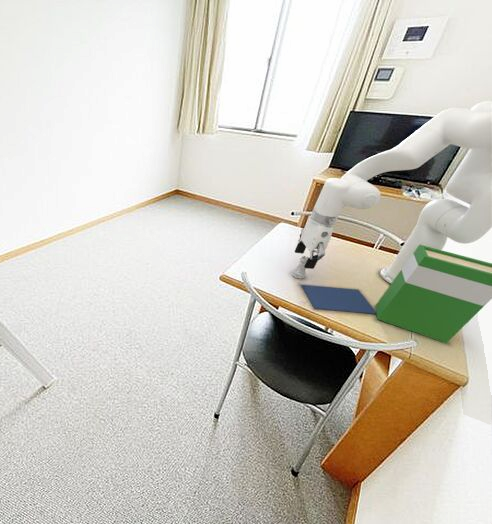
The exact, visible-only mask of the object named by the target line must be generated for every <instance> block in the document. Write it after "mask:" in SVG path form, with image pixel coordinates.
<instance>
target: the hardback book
mask: <svg viewBox="0 0 492 524" xmlns="http://www.w3.org/2000/svg"><path fill="white" fill-rule="evenodd" d="M490 301H492V262H488V261H484V260H481V259H478V258H477V259H476V258H473V257H469V256H465V255H461V254H458V253H455V252H450V251H446V250H443V249H442V250H439V249H435V248H431V247H427V246H423V245H419V246H418V247H417V249H416V250H415V252H414V253H413V254H412V256H411V257H410V258H409V260H408V261H407V263H406V264H405V265H404V267H403V268H402V269H401V271H400V272H399V274H398V275H397V276H396V278H395V279H394V280H393V282H392V283H391V284H389V286H388V287H387V288H386V289H385V291H384V293H383V294H382V295H381V296H380V298H379V300H378V301H377V303H376V304H375V305H374V307H375V311H376V313H377V314H376V318H377V320H379V321H380V322H381V321H382V322H385V323H387V324H391V325H393V326H395V327H399V328H402V329H404V330H406V331H410V332H413V333H416V334H419V335H421V336H425V337H427V338H431V339H433V340H436V341H438V342H441V343H445V344H448V343H449V342H450V340H452V338H454V336H456V335H457V333H459V332H460V331H461V329H463V327H465V326H466V325H467V324H468V323H469V322H470V321H471V320H472V319H473V318H474V317H475V316H476V315H477V314H478V313H479V312H480V311H481V310H482V309H483V308H484V307H485V306H486V305H487V304H488V303H489V302H490Z"/></svg>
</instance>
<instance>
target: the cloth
mask: <svg viewBox="0 0 492 524" xmlns="http://www.w3.org/2000/svg"><path fill="white" fill-rule="evenodd" d="M300 286H301V288H302V289H303V291H304V293H305V295H306V297H307V298H308V300H309V302H310V304H311V305H312V307H313V309H314V310H323V311H335V312H347V313H357V314H358V313H359V314H367V315H369V314H370V315H377V313H376V309H375V308H374V307H373V306H372V305H371V304H370V302H369V301H368V300H367V298H366V297H365V296H364V295H363V293H362V292H361V291H360V290H359V289H357V288H356V289H355V288H345V287H344V288H343V287H334V286H333V287H331V286H322V285H321V286H320V285H311V284H310V285H309V284H301V285H300Z"/></svg>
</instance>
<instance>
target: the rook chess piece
mask: <svg viewBox="0 0 492 524" xmlns="http://www.w3.org/2000/svg"><path fill="white" fill-rule="evenodd" d="M308 258H309V256H306V255H302V256H301V257H300V258H299V260H300V261H299V263H298V265H297V267H295V268H294V269H293V271H292V272H291V274H292V276H293V277H294V278H296V279H299V280H302V279H304V278H305V277H306V274H307V273H306V268H305V267H304V266H305V264H306V262H307V260H308Z"/></svg>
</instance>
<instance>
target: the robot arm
mask: <svg viewBox="0 0 492 524" xmlns="http://www.w3.org/2000/svg"><path fill="white" fill-rule="evenodd" d="M451 145H452V146H455V147H456V146H457V147H460V148H463V149H469V150H468V151H467V153H466V154H465V156H464V158H463V159H462V161H461V162H460V164H459V165H458V166H457V168H456V170H455V171H454V173H452V176H451V177H450V178H449V180H448V182H447V183H446V185H445V191H446V192H447V195H449V196H451V197H454V198H455V199H457V200H459V201H461V202H463V203H466V204H468V205H469V207H468V206H466V205H463V204H462V203H460V202H458V201H455V200H452V199H448V198H437V199H433V200H431V201H430V202H428V203H426V205H425V206H424V207H423V208H422V210H421V211H420V213H419V216H418V219H417V221H416V224H415V226H414V228H413V230H412V231H411V232H410V235H409V236H408V238H407V239H406V241H405V242H404V244H403V245H402V247H401V249H400V250H399V252H398V253H397V254H396V256H395V258H394V260H393V261H392V263H390V264H389V267H383V268H382V269H381V270H380V272H379V274H380V277H381V278H382V279H383V280H384V281H386V282H387V283H389V285H391V283H392V282H393V280H394V279H395V278H396V276H397V275H398V274H399V272H400V271H401V269H402V268H403V267H404V265H405V264H406V263H407V261H408V260H409V258H410V257H411V256H412V254H413V253H414V252H415V250H416V249H417V247H418V246H419V245H423V246H427V247H431V248H435V249H439V250H442V251H443V249H444V247H445V246H446V243H447V240H448V238H449V239H450V240H451V241H454V242H455V243H459V244H462V245H463V244H465V245H467V244H471V243H474V242H476V241H478V240H480V239H482V237H484V236H485V235H486V234H487V233H488V232H489V231H490V230H491V229H492V100H483V101H481V102H479V103H476V104H475V105H474V106H472V107H471V108H465V107H449V108H446V109H444V110H441V111H440V112H439V113H437V114H436V115H435V116H433V117H432V118H431V119H429V120H428V121H427V122H426V123H424V124H423V125H422V126H421V127H419V128H418V129H417V130H415V131H414V132H413V133H412V134H410V135H409V136H408V137H407V138H405V139H404V140H402V141H401V142H400V143H399V144H398V145H396V146H394V147H393V148H391V149H388V150H385V151H382V152H379V153H377V154H375V155H372V156H370V157H368V158H365V159H364V160H361V161H360V162H358V163H357V164H355V165H354V166H353V167H352V168H351V169H349V170H348V171H347V172H345V173H344V174H343V175H342V176H341V177H340V178H338V177H331V178H328V179H326V180H325V182H324V184H323V186H322V188H321V190H320V193H319V195H318V198H317V200H316V202H315V204H314V207H313V209H312V212H311V214H310V216H309V219H308V221H307V222H306V223H305V226H304V227H302V228H301V230H300V234H299V239H298V240H297V241H298V242H297V245H296V247H295V249H294V253H295V254H304V253H305V251H306V249H307V250H308V251H309V257H308V260H307V262H306V264H305V266H304V267H305V269H309V270H310V269H312V270H314V269H315V267H316V265H317V264H318V261H320V260H322V259H323V258H324V257H325V256H326V249H327V248H328V245H329V243H330V241H331V238H332V235H333V232H334V227H335V224H336V222H337V221H338V218H339V216H340V214H341V212H342V210H343V208H344V207H348V208H353V209H358V210H367V209H371V208H373V207H375V206H376V205H377V204H378V203H379V202H380V201H381V197H382V194H381V192H380V189H378V187H376V186H375V185H373V184H372V183H370V182H368V180H370V179H372V178H374V177H376V176H377V175H380V174H381V175H382V174H383V173H387V172H396V171H410V170H411V171H412V170H415V169H418V168H420V167H422V165H424V164H425V163H426V162H428V161H429V160H431V159H432V158H433V157H435V156H436V155H437V154H439V153H440V152H442V151H443V150H444V149H446V148H447V147H449V146H451ZM315 253H316V254H315Z"/></svg>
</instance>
